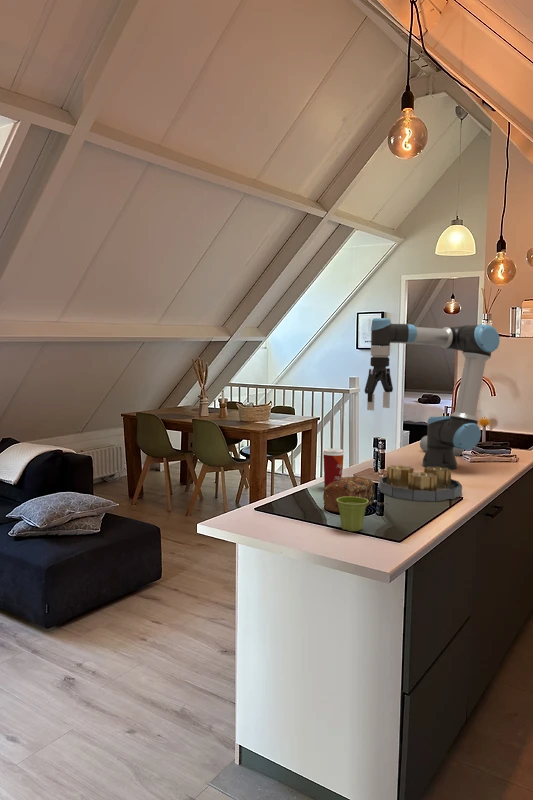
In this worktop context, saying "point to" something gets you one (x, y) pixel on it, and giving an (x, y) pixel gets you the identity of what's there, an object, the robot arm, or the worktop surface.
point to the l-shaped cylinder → (424, 447)
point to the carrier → (420, 491)
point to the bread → (348, 491)
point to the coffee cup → (332, 465)
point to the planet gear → (398, 474)
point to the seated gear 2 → (440, 475)
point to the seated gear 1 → (422, 481)
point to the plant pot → (352, 512)
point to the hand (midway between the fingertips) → (378, 409)
